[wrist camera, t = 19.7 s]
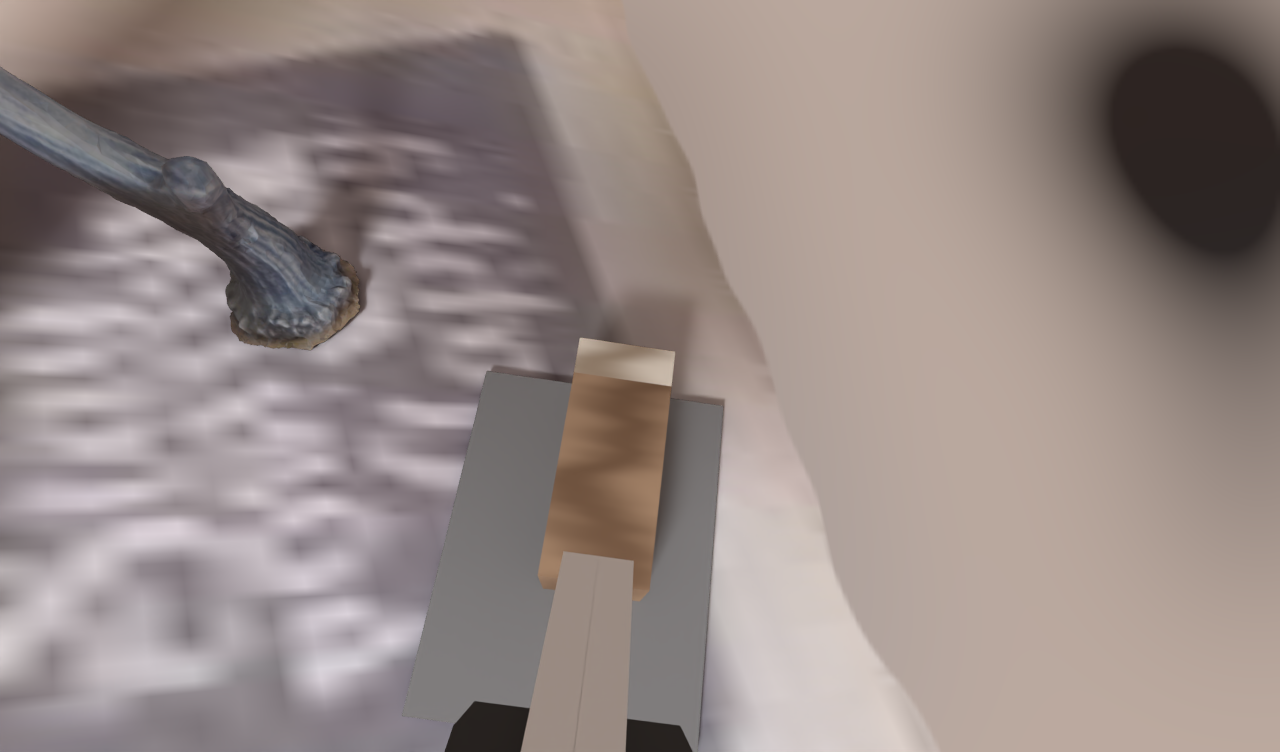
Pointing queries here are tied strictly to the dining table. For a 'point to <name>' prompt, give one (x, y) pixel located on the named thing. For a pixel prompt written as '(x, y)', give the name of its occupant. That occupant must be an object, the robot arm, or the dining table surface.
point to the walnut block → (610, 460)
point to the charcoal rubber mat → (511, 551)
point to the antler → (197, 221)
